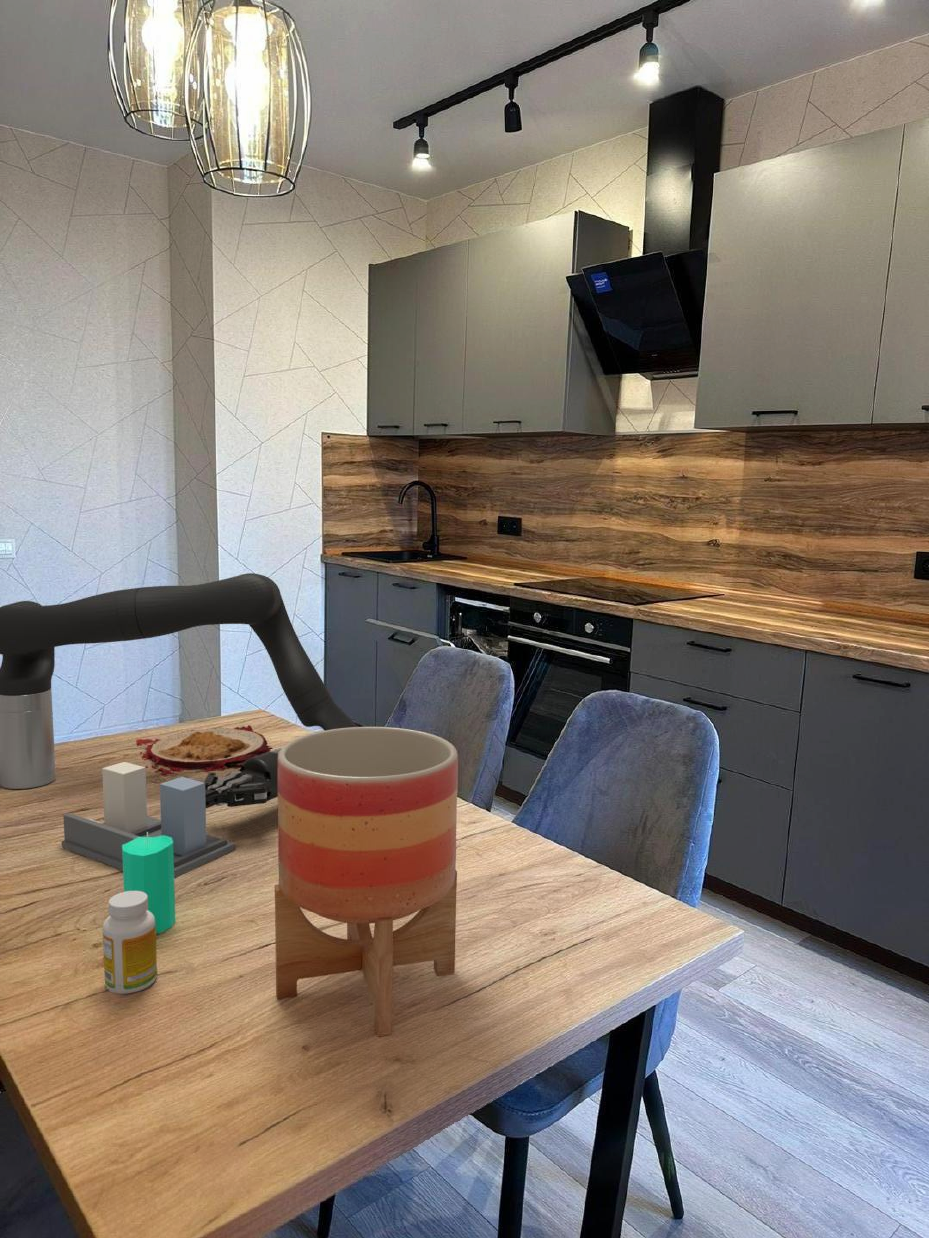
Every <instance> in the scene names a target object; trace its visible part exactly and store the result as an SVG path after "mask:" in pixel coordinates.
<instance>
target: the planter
mask: <svg viewBox="0 0 929 1238" xmlns="http://www.w3.org/2000/svg"><path fill="white" fill-rule="evenodd" d="M280 748H281V750H280V751H279V753H278V780H277V787H278V797H277V821H278V822H277V825H278V829H277V830H278V831H277V833H278V834H277V835H278V837H277V838H278V840H277V841H278V846H277V847H278V850H277V851H278V852H277V853H278V854H277V856H278V857H277V859H278V862H277V863H278V884H275V885H274V917H275V918H274V922H275V923H274V925H275V926H274V927H275V928H274V929H275V930H274V932H275V934H274V935H275V936H274V938H275V939H274V940H275V943H274V944H275V993H276V995H275V996H276V999H277V1000H281V999H287V998H295V997H297V996H298V981H299V980H302V979H309V978H317V977H325V976H331V975H338V974H345V973H352V972H360V971H361V972H362V973H363V974H362V975H363V978H364V981H365V983H366V987H367V990H368V993H369V996H370V999H371V1002H372V1005H373V1026H374V1030H375V1032H376V1035H377V1036H376V1037H377V1038H378V1037H385V1036H389V1035H392V1033H393V1032H392V1031H393V967H396V966H397V967H398V966H405V965H413V964H419V963H426V962H433V970H434V973H435V974H436V976H437V977H441V976H448V975H454V974H455V971H456V968H455V967H456V963H455V962H456V931H457V930H456V928H457V927H456V923H457V920H456V918H457V885H458V884H457V883H458V882H457V881H458V870H456V866H457V865H456V863H457V862H456V861H457V818H458V815H457V813H458V809H457V807H458V806H457V805H458V788H459V787H458V784H459V773H458V772H459V766H458V765H459V761H458V760H459V756H458V751H457V749H456V747H455V746H454V745H453V744H452V743H451V742H449V741H448V740H447V739H444V738H443V737H440V736H438V735H435V734H433V733H428V732H424V731H420V730H415V729H407V728H403V727H401V728H400V727H390V726H389V727H388V726H358V727H351V728H340V729H332V730H326V731H325V730H321V731H317V732H312V733H308V734H305V735H302V736H299V737H297V738H294V739H292V740H290V741H289V742H287V743H285V745H283V746H282V747H280ZM302 909H303V910H305V911H308V912H311V913H314V914H316V915H318V916H319V917H322V918H325V919H328V920H331V921H335V922H338V923H339V922H341V923H346V925H347V926H346V938H341V937H337V936H333V935H330V934H327V933H326V932H324V931H322V930H320V929H319V928H318V927H317V926H316V925H314V924H313V923H312V922H311V921H310V920H309V919H308V917H306V915H305V913H304V912H303V910H302ZM415 913H416V914H415ZM413 914H415V915H414V916H413V917H411V919H410V920H409V921H407V922H406V923H405V924H403V925H402V926H401V927H398V928H397V929H395V930H394V921H396V920H400V919H403V918H405V917H406V918H407V917H409V916H411V915H413ZM371 924H374V927H373V928H374V929H373V933H372V930H371V927H370V925H371Z"/></svg>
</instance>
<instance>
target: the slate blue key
mask: <svg viewBox="0 0 929 1238" xmlns="http://www.w3.org/2000/svg"><path fill="white" fill-rule="evenodd" d="M159 794H160V795H159V796H160V799H159V800H160V801H159V802H160V820H161V836H163V835H164V836H168V837H171V838H172V841H173V853H175V854H178V855H181V856H184V855H186V854H188V853H191V852H193V851H195V850H197V849H200V848H202V847H204V846H206V834H207V813H206V811H207V810H206V809H207V808H206V803H205V783H204V781H203V782H202V781H198V780H196V779H192V778H188V777H184V776H179V777H177V778H174V779H171V780H168V781H165V782H162V783H160V784H159Z"/></svg>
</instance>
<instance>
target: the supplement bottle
mask: <svg viewBox="0 0 929 1238" xmlns="http://www.w3.org/2000/svg"><path fill="white" fill-rule="evenodd" d="M147 909H148V896H147V894H146V893H144V892H141V891H127V892H124V891H123V892H120V893H117V894H115V895H113V896H111V897H110V898H109V900H108V914H109V916H107V918H106V919H105V920H104V922H103V925H102V940H103V941H102V943H103V944H102V946H103V947H102V949H103V969H104V970H103V971H104V973H103V975H104V985H105V987H106V989H107V990H108V991H109V992H111V993H114V994H120V995H124V994H127V995H128V994H132V993H133V994H134V993H137V992H139V991H140V992H141V991H143V990H145V989H146V988H148V987H150V986H151V985H152V984H153V983H154V982H155V981H156V979H157V975H158V966H157V965H158V964H157V963H158V962H157V938H156V936H157V934H156V929H155V917H154V915H153V914H152V913H151V912H150V911H148V910H147Z"/></svg>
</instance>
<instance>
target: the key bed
mask: <svg viewBox="0 0 929 1238" xmlns="http://www.w3.org/2000/svg"><path fill="white" fill-rule="evenodd" d="M147 832H148V837H157V836H161V819H159V818H156V817H153V816H150V815H147V827H146V828H143V829H141V830H138V831H135V832H133V833H128V832H125V831H122V830H119V829H116V828H113V827H110V826H107V825H104V822H103V823H101V822H100V821H96V820H94V819H93V818H92V819H91V818H88V817H87V818H85V817H82V816H80V815H76V814H74V813H71V812H69V813H65V814H63V833H64V836H63V837H64V840H62V841H61V849H65V850H67V851H70V852H73V853H74V854H77V855H80V856H83V857H86V858H88V859H91V860H94V861H97V862H100V863H102V864H105V865H108V866H110V867H113V868H116V869H118V870H121V871H123V856H122V845H124V844H126V843H128V842H130V841H132V840H134V839H136V838H137V837H147ZM235 850H236V843H235V842H233V841H229V840H228V839H227V838H219V837H216V836H213V835H211V834H207V833H206V846H204V847H202V848H200V849H197V850H195V851H193V852H191V853H188V854H186V855H184V856H181V855H178V854H175V853H173V855H174V878H176V877H178V876H181V875H183V874H185V873H187V872H189V871H192V870H194V869H196V868H198V867H201V866H203V865H205V864H208V863H210V862H213V861H215V860H216V859H218V858H220V857H223V856H224V855H227V854H230V853H232V852H234V851H235Z"/></svg>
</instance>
